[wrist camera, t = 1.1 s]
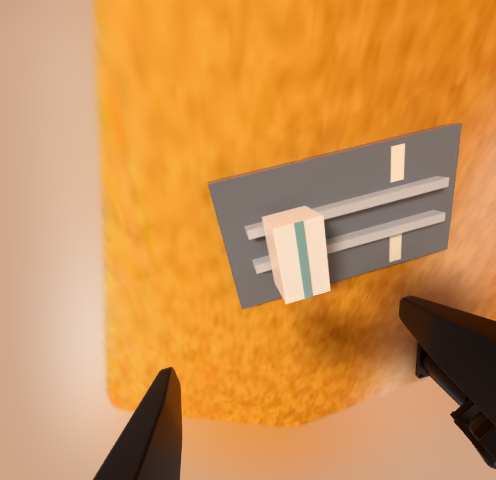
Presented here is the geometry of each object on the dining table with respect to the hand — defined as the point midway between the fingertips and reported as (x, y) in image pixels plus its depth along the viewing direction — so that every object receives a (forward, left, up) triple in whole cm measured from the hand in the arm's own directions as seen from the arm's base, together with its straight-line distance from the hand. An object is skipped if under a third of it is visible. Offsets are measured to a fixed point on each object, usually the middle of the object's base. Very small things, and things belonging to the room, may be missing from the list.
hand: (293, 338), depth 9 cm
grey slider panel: (-1, -9, -14) cm, 17 cm away
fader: (-1, -3, -12) cm, 13 cm away
